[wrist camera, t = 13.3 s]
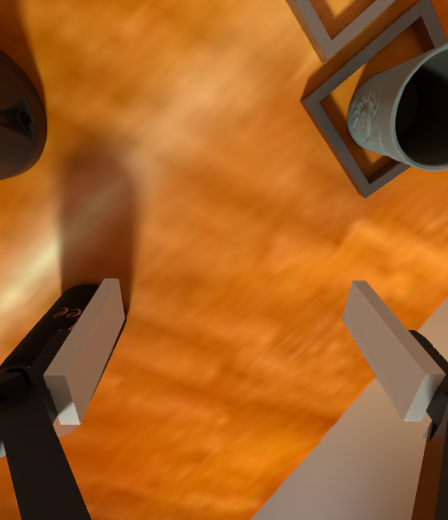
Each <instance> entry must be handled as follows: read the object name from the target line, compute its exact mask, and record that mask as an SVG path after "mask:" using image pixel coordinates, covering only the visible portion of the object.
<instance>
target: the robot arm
mask: <svg viewBox="0 0 448 520" xmlns="http://www.w3.org/2000/svg"><path fill="white" fill-rule="evenodd" d="M45 142H46V119H45V114H44V110H43V107H42V104H41V101H40V99H39V96H38V94H37V92H36V90H35V88H34V87H33V85H32V83H31V82H30V80H29V79H28V77H27V76H26V75H25V73H24V72H23V71H22V70H21V68H20V67H19V66H18V65H17V64H16V63H15V62H14V61H13V60H12V59H11V58H9V57H8V56H7V55H6V54H5V53H3V52H2V51H1V50H0V180H3V179H7V178H11V177H14V176H17V175H20V174H22V173H24V172H26V171H27V170H29V169H30V168H31V167H32V166H33V165H34V164H35V163H36V162H37V161H38V159H39V158H40V156H41V154H42V152H43V149H44V146H45ZM124 319H125V315H124V309H123V303H122V296H121V290H120V284H119V279H114V278H105V279H104V280H103V282H102V283H101V285H100V286H99V288H98V290H97V291H96V293H95V294H94V296H93V298H92V299H91V301H90V302H89V304H88V305H87V307H86V309H85V310H84V312H83V313H82V315H81V316H80V318H79V320H78V321H77V323H76V324H75V326H74V328H73V329H72V330H60V331H59V332H57V333H56V334H55V335H54V336H52V337H51V338H50V339H49V341H48V342H47V344H46V345H45V346H44V348H43V349H42V351H41V352H40V354H39V356H37V358H36V359H35V361H34V362H33V364H32V365H31V366H30V368H29V367H28V366H24V365H14V366H11V367H8V368H5V369H3V370H2V371H0V457H2V456H5V455H6V457H7V461H8V465H9V470H10V474H11V478H12V482H13V486H14V490H15V494H16V499H17V503H18V507H19V511H20V515H21V519H22V520H91V518H90V515H89V513H88V510H87V508H86V505H85V503H84V500H83V498H82V495H81V493H80V491H79V488H78V486H77V483H76V481H75V478H74V476H73V473H72V471H71V468H70V466H69V463H68V461H67V458H66V456H65V454H64V451H63V449H62V446H61V444H60V441H59V439H58V436H57V434H56V431H55V429H54V426H53V423H54V421H55V419H56V417H57V416H58V419H59V421H60V424H61V425H80V424H81V422H82V420H83V417H84V415H85V412H86V410H87V408H88V405H89V403H90V400H91V398H92V396H93V393H94V391H95V389H96V386H97V384H98V381H99V379H100V377H101V374H102V372H103V369H104V367H105V365H106V362H107V360H108V358H109V355H110V353H111V350H112V348H113V346H114V343H115V341H116V338H117V336H118V334H119V331H120V329H121V327H122V324H123V322H124ZM342 320H343V322H344V323H345V325H346V327H347V328H348V330H349V332H350V333H351V335H352V337H353V338H354V340H355V342H356V343H357V345H358V347H359V348H360V350H361V352H362V354H363V355H364V357H365V359H366V360H367V362H368V364H369V365H370V367H371V369H372V370H373V372H374V374H375V375H376V377H377V379H378V380H379V382H380V384H381V385H382V387H383V389H384V390H385V392H386V394H387V396H388V397H389V399H390V401H391V402H392V404H393V406H394V407H395V408H396V410H397V412H398V414H399V416H400V417H401V419H402V421H403V422H404V421H408V422H411V421H422V419H423V417H424V415H425V413H426V412H427V413H428V415H429V416H430V418H431V419H432V422H431V423H430V425H429V427H428V429H427V431H426V433H425V434H424V437H423V438H425V439H426V438H427V440H426V445H425V451H424V457H423V461H422V466H421V472H420V477H419V482H418V488H417V493H416V498H415V503H414V508H413V514H412V519H411V520H448V362H447V361H446V360H445V359H444V358H443V356H442V355H440V354H439V352H438V351H437V350H436V349H435V348H433V345H432V344H431V343H430V342H429V341H428V340H427V339H426V338H425V337H424V336H422V335H421V334H419V333H418V332H417V331H415V330H407V329H406V327H405V326H404V325H403V324H402V323H401V322H400V320H399V319H398V318H397V317H396V316H395V315H394V313H393V312H392V311H391V310H390V309H389V308H388V306H387V305H386V304H385V303H384V302H383V301H382V299H381V298H380V297H379V296H378V295H377V294H376V292H375V291H374V290H373V289H372V288H371V287H370V285H369V284H368V283H367V282H366V281H352V284H351V287H350V291H349V295H348V299H347V302H346V306H345V310H344V314H343V317H342Z"/></svg>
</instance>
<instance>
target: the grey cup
mask: <svg viewBox="0 0 448 520" xmlns="http://www.w3.org/2000/svg"><path fill="white" fill-rule="evenodd" d="M347 126H348V130H349V132H350V135H351V137H352V138H353V140H354V141H355V142H356V143H357V144H358V145H359V146H361V147H363V148H365V149H367V150H369V151H372V152H375V153H378V154H381V155H386V156H389V157H391V158H393V159H395V160H397V161H400V162H403V163H405V164H407V165H410V166H412V167H415V168H418V169H421V170H426V171H442V170H446V169H448V43H446V44H443V45H441V46H439V47H437V48H434V49H432V50H430V51H428V52H426V53H424V54H421V55H419V56H417V57H415V58H412V59H410V60H408V61H406V62H403V63H401V64H399V65H397V66H394V67H392V68H390V69H388V70H385V71H382V72H380V73H377V74H375V75H374V76H372V77H370V78H369V79H368V80H366V81H365V82H364V83H363V84H361V86H360V87H359V89H358V90H357V91H356V93H355V95H354V96H353V98H352V100H351V103H350V106H349V110H348V116H347Z"/></svg>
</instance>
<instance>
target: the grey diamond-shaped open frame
mask: <svg viewBox="0 0 448 520" xmlns="http://www.w3.org/2000/svg"><path fill="white" fill-rule="evenodd" d="M286 1H287V3H288V5H289V7H290V8H291V10H292V12H293V14H294V15H295V17H296V19H297V20H298V22H299V24H300V26H301V27H302V29H303V31H304V33H305V34H306V36H307V38H308V40H309V41H310V43H311V45H312V46H313V48H314V50H315V52H316V53H317V55H318V57H319V59H320V60H321V62H322V63H323V62H325V61H327V60H328V59H330V58H331V57H332V56H333V55H334V54H335V53H336V52H337V51H339V50H340V49H341V48H342V47H343V46H344V45H345V44H346V43H348V42H349V41H350V40H351V39H352V38H353V37H354V36H356V35H357V34H358V33H359V32H360V31H361V30H362V29H363V28H365V27H366V26H367V25H368V24H369V23H370V22H371V21H372V20H374V19H375V18H376V17H377V16H378V15H379V14H380V13H382V12H383V11H384V10H385V9H386V8H387V7H388V6H389V5H391V4H392V3H393V2H394V1H395V0H374V1H373V2H372V3H371V4H370V5H369V6H368V7H367V8H366V9H364V10H363V11H362V12H361V13H360V14H359V15H358V16H357V17H356V18H355V19H353V20H352V21H351V22H350V23H349V24H348V25H347V26H346V27H345V28H343V29H342V30H341V31H340V32H339V33H338V34H337V35H336V36H335V37H334V38H332V39H331V38H330V37H329V35H328V33H327V31H326V29H325V28H324V26H323V24H322V22H321V20H320V18H319V17H318V15H317V13H316V11H315V9H314V8H313V6H312V4H311V2H310V0H286Z"/></svg>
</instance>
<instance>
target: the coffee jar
mask: <svg viewBox="0 0 448 520" xmlns="http://www.w3.org/2000/svg"><path fill="white" fill-rule="evenodd" d="M98 288H99V285H90V284H84V285H79V286H74V287H72V288H70V289H69V290H67V291H65V292H64V293H63V294H62V296H61V297H60V298H59V299H58V300H57V301H56V302H55V304H54V305H53V306H52V307H51V308H50V309H49V310H48V312H47V313H46V314H45V315H44V316H43V317H42V318H41V319H40V321H39V322H38V323H37V324H36V325H35V326H34V327H33V329H32V330H31V331H30V332H29V333H28V334H27V335H26V337H25V338H24V339H23V340H22V341H21V342H20V343H19V344H18V346H17V347H16V348H15V349H14V350H13V351H12V352H11V354H10V355H9V356H8V357H7V358H6V359H5V360H4V362H3V363H2V364H1V366H0V371H2V370H3V369H5V368H8V367H11V366H14V365H24V366H28V367H29V368H30V366H31V365H32V364H33V362H34V361H35V359H36V358H37V356H39V354H40V352H41V351H42V349H43V348H44V346H45V345H46V344H47V342H48V341H49V339H50V338H51V337H52V336H54V335H55V334H56V333H57V332H59V331H60V330H72V329H73V328H74V326H75V324H76V323H77V321H78V320H79V318H80V316H81V315H82V313H83V312H84V310H85V309H86V307H87V305H88V304H89V302H90V301H91V299H92V298H93V296H94V294H95V293H96V291H97V290H98ZM123 309H124V315H125V319H124V322H123V324H122V327H121V329H120V331H119V334H118V336H117V338H116V341H115V343H114V346H113V348H112V350H111V353H110V355H109V358H108V360H107V362H106V365H105V367H104V369H103V372H102V374H101V377H102V375H103V373H104V371H105V368H106V366H107V364H108V362H109V360H110V357H111V355H112V353H113V351H114V349H115V346H116V344H117V342H118V340H119V338H120V335H121V333H122V331H123V329H124V326H125V324H126V321H127V319H126V310H125V307H124V305H123ZM101 377H100V379H101ZM100 379H99V381H98V384H99V382H100ZM98 384H97V386H98ZM97 386H96V388H97ZM95 390H96V389H95ZM94 392H95V391H94ZM93 395H94V393H93ZM92 397H93V396H92ZM91 399H92V398H91ZM90 401H91V400H90ZM53 426H54V429H55V431H56V434H57V436H58V437H61V436H64V435H66V434H68V433H71V432H72V431H73V430H74V429H75V428H76V427H78V426H79V425H61V424H60V421H59V419H58V416H57V417H56V419H55V421H54V423H53Z"/></svg>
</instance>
